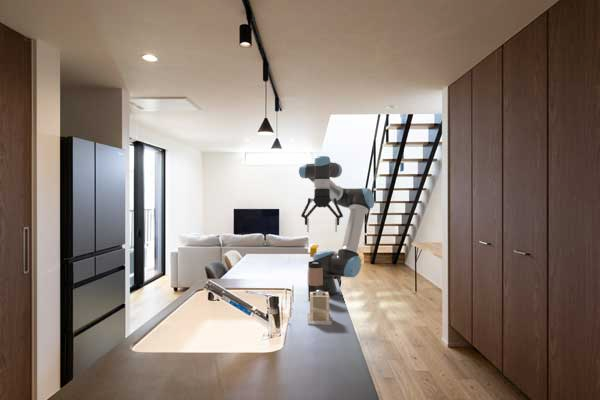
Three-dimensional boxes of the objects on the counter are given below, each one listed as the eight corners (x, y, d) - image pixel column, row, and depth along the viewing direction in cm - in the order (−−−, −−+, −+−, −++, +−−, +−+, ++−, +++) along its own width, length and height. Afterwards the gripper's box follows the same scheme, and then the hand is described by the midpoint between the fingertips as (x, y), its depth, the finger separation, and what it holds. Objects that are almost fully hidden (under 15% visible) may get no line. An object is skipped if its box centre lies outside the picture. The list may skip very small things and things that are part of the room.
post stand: (307, 316, 163) (307, 287, 163) (329, 317, 163) (330, 287, 163) (307, 324, 153) (307, 293, 153) (331, 324, 153) (331, 293, 153)
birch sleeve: (309, 314, 162) (309, 291, 162) (327, 314, 162) (328, 291, 162) (310, 320, 154) (310, 296, 154) (329, 320, 154) (329, 296, 154)
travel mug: (323, 299, 193) (323, 261, 193) (322, 303, 185) (322, 263, 185) (308, 298, 194) (308, 260, 194) (307, 302, 186) (307, 263, 186)
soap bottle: (324, 284, 227) (324, 244, 227) (318, 287, 219) (319, 246, 219) (311, 283, 231) (311, 244, 231) (305, 286, 223) (305, 245, 223)
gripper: (296, 187, 174) (296, 232, 174) (348, 188, 174) (348, 232, 174) (296, 188, 182) (296, 231, 182) (346, 188, 182) (346, 231, 182)
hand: (321, 232), depth 178 cm, fingers open, 13 cm apart
